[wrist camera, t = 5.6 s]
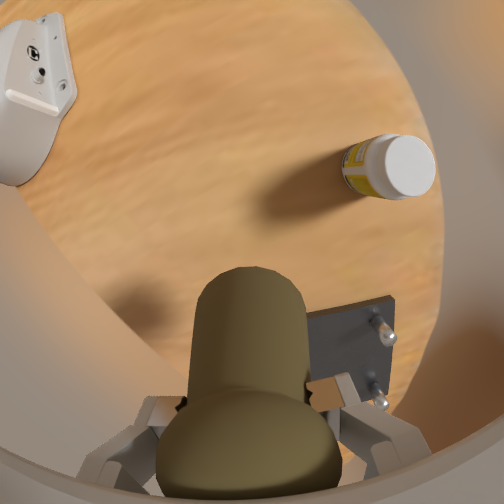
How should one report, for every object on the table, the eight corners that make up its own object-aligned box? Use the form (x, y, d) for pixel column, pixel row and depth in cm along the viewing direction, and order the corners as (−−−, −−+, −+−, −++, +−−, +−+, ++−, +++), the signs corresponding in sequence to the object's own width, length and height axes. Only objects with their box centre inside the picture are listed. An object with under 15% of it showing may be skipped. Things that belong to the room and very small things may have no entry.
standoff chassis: (262, 320, 27) (263, 347, 22) (389, 294, 26) (410, 315, 21) (280, 411, 30) (283, 440, 25) (384, 388, 29) (397, 413, 25)
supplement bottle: (391, 192, 24) (442, 201, 15) (344, 197, 24) (383, 208, 16) (384, 141, 22) (434, 129, 14) (336, 143, 23) (373, 128, 15)
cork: (233, 376, 16) (218, 546, 6) (173, 299, 15) (80, 473, 4) (323, 334, 15) (388, 508, 5) (272, 244, 14) (318, 427, 3)
